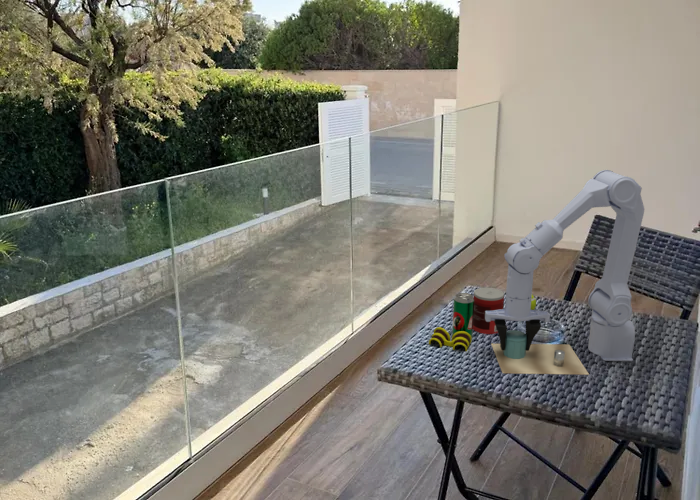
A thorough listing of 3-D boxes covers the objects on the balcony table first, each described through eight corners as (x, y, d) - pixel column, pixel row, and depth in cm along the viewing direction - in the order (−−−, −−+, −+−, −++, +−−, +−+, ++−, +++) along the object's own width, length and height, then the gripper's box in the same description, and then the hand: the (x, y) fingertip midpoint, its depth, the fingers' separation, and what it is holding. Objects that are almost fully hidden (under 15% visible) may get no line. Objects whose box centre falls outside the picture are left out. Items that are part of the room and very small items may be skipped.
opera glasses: (428, 352, 151) (427, 336, 149) (434, 340, 155) (433, 324, 153) (466, 359, 147) (466, 343, 145) (472, 347, 152) (472, 330, 149)
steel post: (561, 362, 141) (563, 349, 140) (564, 366, 139) (566, 354, 138) (552, 362, 141) (553, 349, 140) (554, 366, 139) (556, 354, 138)
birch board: (568, 349, 150) (569, 344, 150) (588, 379, 136) (589, 374, 135) (490, 347, 151) (491, 343, 151) (502, 377, 137) (502, 373, 136)
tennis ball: (538, 318, 168) (540, 295, 166) (514, 319, 168) (516, 296, 166) (530, 309, 174) (532, 287, 172) (507, 309, 174) (509, 287, 172)
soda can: (471, 344, 153) (474, 300, 149) (451, 343, 154) (453, 298, 150) (472, 336, 158) (474, 292, 154) (452, 334, 159) (454, 291, 155)
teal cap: (522, 349, 148) (524, 330, 146) (527, 359, 143) (528, 339, 141) (501, 349, 148) (502, 330, 146) (505, 358, 143) (507, 339, 142)
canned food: (500, 326, 163) (503, 287, 160) (502, 339, 156) (505, 299, 152) (471, 324, 165) (473, 286, 161) (471, 337, 157) (474, 297, 154)
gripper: (546, 289, 144) (541, 341, 148) (484, 288, 145) (481, 340, 149) (554, 300, 138) (549, 354, 142) (489, 299, 138) (485, 354, 142)
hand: (514, 348), depth 145 cm, fingers closed on teal cap, 5 cm apart
